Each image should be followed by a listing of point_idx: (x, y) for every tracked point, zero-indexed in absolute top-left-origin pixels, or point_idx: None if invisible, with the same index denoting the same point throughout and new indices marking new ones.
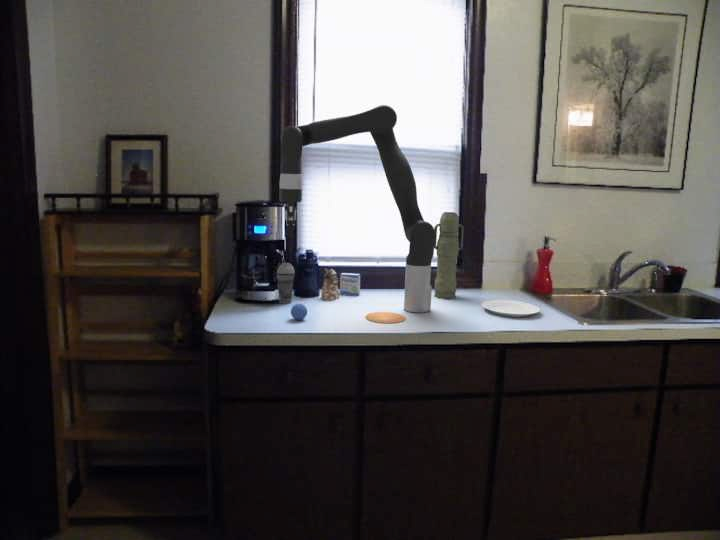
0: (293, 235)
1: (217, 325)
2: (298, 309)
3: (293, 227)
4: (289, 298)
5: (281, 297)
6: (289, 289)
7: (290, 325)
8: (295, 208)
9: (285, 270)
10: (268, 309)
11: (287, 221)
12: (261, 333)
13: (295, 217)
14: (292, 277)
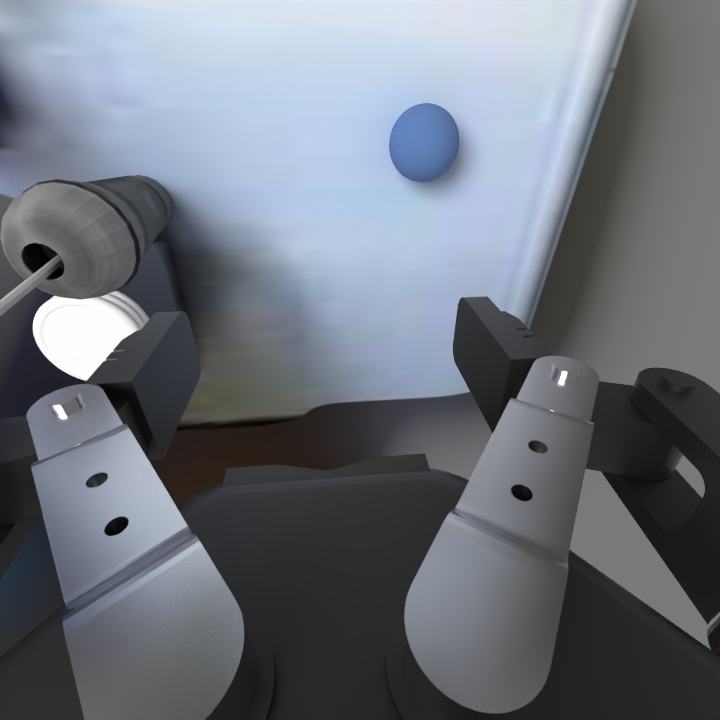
0: (489, 299)
1: (443, 382)
2: (456, 149)
3: (528, 349)
4: (154, 187)
5: (164, 226)
6: (143, 196)
7: (485, 177)
8: (539, 688)
9: (121, 246)
10: (268, 265)
11: (670, 478)
12: (545, 268)
13: (591, 430)
14: (106, 192)
